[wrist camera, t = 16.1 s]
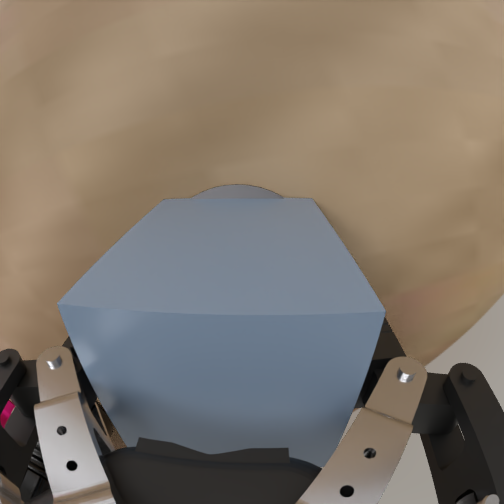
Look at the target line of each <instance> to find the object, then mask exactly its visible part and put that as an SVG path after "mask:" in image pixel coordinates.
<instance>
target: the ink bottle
mask: <svg viewBox="0 0 504 504" xmlns="http://www.w3.org/2000/svg"><path fill="white" fill-rule="evenodd" d="M97 406H98V408H99V411H100V414H101V416H102V419H103V422H104V424H105V427H106V429H107V432H108V434H109V437H111V435H112V431H113V427H112V423H111V421H110V419H109V418H108V416H107V415H106V413H105V412H104V411H103V410H102V409H101V408H100V407H99V405H98V404H97ZM15 407H16V406H15ZM13 410H14V409H13ZM12 412H13V411H12ZM11 414H12V413H11ZM10 416H11V415H10ZM10 416H9V418H10ZM9 418H8V420H9ZM8 420H7V422H8ZM7 422H6V424H7ZM6 424H5V426H6ZM50 488H51V487H50V484H49V480H48V477H47V473H46V469H45V465H44V461H43V457H42V452H41V448H40V443H39V440H38V442H37V444H36V447H35V449H34V452H33V454H32V457H31V459H30V462H29V465H28V467H27V470H26V473H25V475H24V478H23V481H22V484H21V487H20V489H19V490H20V494H21V499H22V500H23V501H24V503H25V502H27V501H29V500H31V499H33V498H34V497H36V496H38V495H40V494H42V493H43V492H45V491H47V490H49V489H50Z"/></svg>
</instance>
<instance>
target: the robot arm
mask: <svg viewBox="0 0 504 504" xmlns="http://www.w3.org/2000/svg"><path fill="white" fill-rule="evenodd" d="M9 399H11V400H12V402H13V403H14V404H15V406H16V407H15V408H14V410H13V412H12V414H11V416H10V418H9V420H8V422H7V424H6V426H5V428H3V427H2V425H1V421H0V504H378V502H379V500H380V499H381V497H382V495H383V493H384V491H385V489H386V487H387V485H388V483H389V481H390V479H391V477H392V475H393V473H394V471H395V469H396V467H397V465H398V463H399V461H400V459H401V456H402V454H403V452H404V449H405V447H406V445H407V442H408V440H409V437H410V435H411V433H420V436H421V440H422V443H423V446H424V449H425V453H426V456H427V459H428V463H429V467H430V470H431V474H432V478H433V482H434V486H435V490H436V494H437V498H438V503H439V504H504V412H503V410H502V408H501V406H500V404H499V402H498V400H497V398H496V397H495V395H494V393H493V391H492V389H491V388H490V386H489V384H488V382H487V381H486V379H485V377H484V375H483V374H482V372H481V371H480V370H479V369H478V368H476V367H475V366H473V365H471V364H468V363H458V364H456V365H454V366H453V367H452V368H451V370H450V372H449V373H448V375H447V374H436V373H428V372H426V369H425V367H424V366H423V365H422V364H421V363H420V362H419V361H417V360H415V359H413V358H409V357H406V355H405V353H404V351H403V349H402V347H401V345H400V343H399V342H398V340H397V338H396V336H395V334H394V332H392V329H391V327H390V325H388V322H387V320H386V318H385V317H384V320H383V324H382V327H381V331H380V334H379V338H378V341H377V344H376V347H375V350H374V354H373V357H372V360H371V363H370V366H369V369H368V372H367V374H366V377H365V380H364V383H363V386H362V388H361V391H360V394H359V396H358V399H357V401H356V404H355V406H354V408H362V409H361V411H360V412H359V414H358V416H357V417H356V419H355V421H354V422H353V424H352V425H351V427H350V429H349V430H348V432H347V433H346V435H345V437H344V438H343V440H342V441H341V443H340V444H339V446H338V447H337V449H336V450H335V452H334V453H333V455H332V456H331V458H330V459H329V460H328V462H327V463H326V465H325V466H324V467H323V469H322V468H320V467H318V466H316V465H314V464H312V463H310V462H307V461H304V460H301V459H297V458H292V457H289V448H248V449H243V450H237V451H231V452H225V453H219V454H206V453H203V452H199V451H196V450H193V449H190V448H187V447H184V446H181V445H179V444H176V443H173V442H166V441H159V440H153V439H147V438H141V437H139V438H138V442H137V445H136V446H134V447H126V448H122V449H117V450H116V449H115V447H114V445H113V443H112V441H111V439H110V437H109V434H108V432H107V429H106V427H105V424H104V422H103V419H102V416H101V414H100V411H99V408H98V406H97V404H96V402H95V401H96V399H97V395H96V393H95V391H94V389H93V387H92V385H91V383H90V381H89V379H88V377H87V375H86V373H85V371H84V369H83V367H82V364H81V362H80V360H79V358H78V356H77V353H76V351H75V349H74V346H73V344H72V342H71V339H70V337H68V338H67V340H66V341H65V342H64V344H63V345H62V346H55V347H51V348H48V349H46V350H45V351H43V352H42V353H41V354H40V355H39V357H38V359H37V360H26V361H23V360H22V358H21V356H20V355H19V353H18V351H16V350H14V349H6V350H3V351H1V352H0V417H1V413H2V411H3V409H4V408H5V406H6V404H7V402H8V401H9ZM458 424H459V425H458ZM459 426H460V428H459ZM460 429H461V430H460ZM461 431H462V433H461ZM462 434H463V436H464V438H463V436H462ZM38 440H39V443H40V448H41V452H42V457H43V461H44V465H45V469H46V473H47V477H48V480H49V484H50V487H51V488H50V489H49V490H47V491H45V492H43V493H42V494H40V495H38V496H36V497H34V498H33V499H31V500H29V501H27V502H25V503H24V501H23V500H22V499H21V494H20V490H19V489H20V487H21V484H22V481H23V478H24V475H25V473H26V470H27V467H28V465H29V462H30V459H31V457H32V454H33V452H34V449H35V447H36V444H37V442H38ZM464 440H465V441H464Z"/></svg>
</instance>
